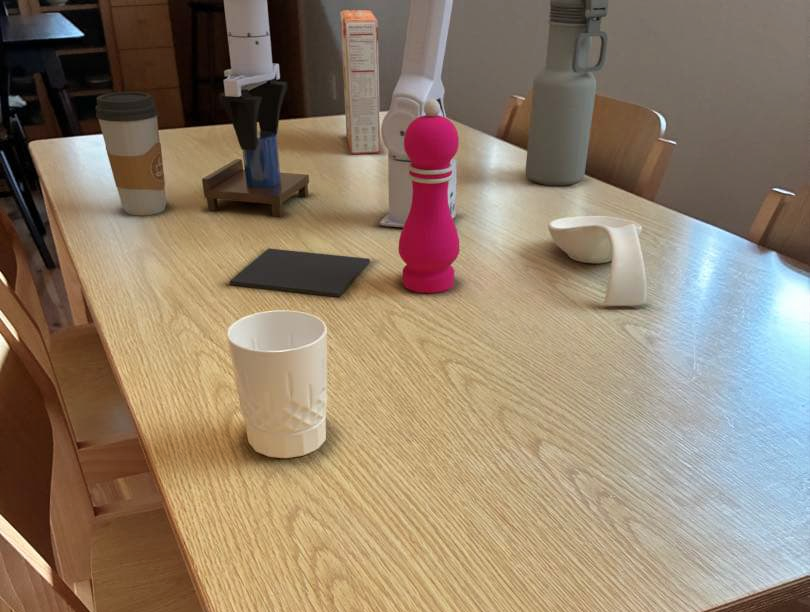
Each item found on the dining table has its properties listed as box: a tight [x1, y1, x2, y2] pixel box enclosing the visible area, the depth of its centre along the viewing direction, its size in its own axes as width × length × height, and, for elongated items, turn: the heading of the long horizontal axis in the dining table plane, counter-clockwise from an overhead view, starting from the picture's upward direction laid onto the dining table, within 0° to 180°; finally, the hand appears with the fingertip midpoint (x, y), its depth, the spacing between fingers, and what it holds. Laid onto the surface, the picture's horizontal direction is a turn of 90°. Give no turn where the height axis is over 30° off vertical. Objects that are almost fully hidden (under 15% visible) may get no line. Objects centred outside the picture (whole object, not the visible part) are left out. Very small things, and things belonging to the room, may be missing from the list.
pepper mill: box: [398, 99, 460, 294], centre depth 92 cm, size 7×7×20 cm
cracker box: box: [339, 9, 382, 155], centre depth 146 cm, size 14×6×21 cm, turn 6°
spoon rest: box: [547, 215, 647, 307], centre depth 99 cm, size 24×12×7 cm, turn 3°
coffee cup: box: [95, 91, 167, 216], centre depth 116 cm, size 8×8×15 cm
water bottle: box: [524, 0, 609, 187], centre depth 126 cm, size 10×10×28 cm
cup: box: [241, 130, 281, 187], centre depth 119 cm, size 5×5×7 cm
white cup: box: [226, 309, 329, 459], centre depth 67 cm, size 8×8×10 cm
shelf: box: [201, 158, 310, 218], centre depth 122 cm, size 12×12×4 cm
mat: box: [229, 248, 371, 298], centre depth 100 cm, size 14×12×1 cm
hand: (259, 143), depth 118 cm, fingers open, 7 cm apart
